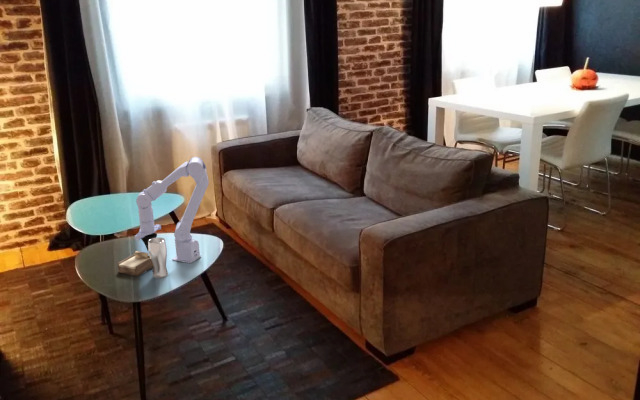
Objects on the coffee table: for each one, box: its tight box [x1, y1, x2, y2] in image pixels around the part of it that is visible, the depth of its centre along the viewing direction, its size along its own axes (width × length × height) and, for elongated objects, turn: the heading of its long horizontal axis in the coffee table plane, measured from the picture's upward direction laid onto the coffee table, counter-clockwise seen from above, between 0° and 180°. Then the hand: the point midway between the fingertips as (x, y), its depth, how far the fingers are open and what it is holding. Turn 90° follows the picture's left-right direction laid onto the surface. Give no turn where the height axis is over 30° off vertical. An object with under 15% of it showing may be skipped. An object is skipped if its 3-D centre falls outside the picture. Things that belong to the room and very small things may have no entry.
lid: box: [119, 250, 150, 269], centre depth 248 cm, size 8×10×3 cm
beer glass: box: [147, 237, 169, 279], centre depth 241 cm, size 7×7×15 cm
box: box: [117, 253, 153, 277], centre depth 249 cm, size 10×11×4 cm
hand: (150, 250), depth 256 cm, fingers closed
